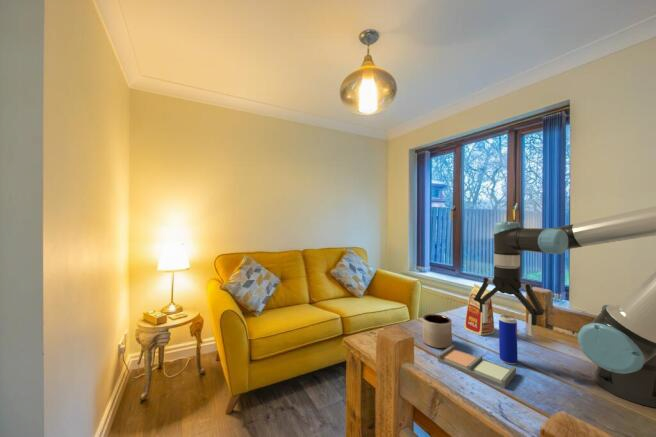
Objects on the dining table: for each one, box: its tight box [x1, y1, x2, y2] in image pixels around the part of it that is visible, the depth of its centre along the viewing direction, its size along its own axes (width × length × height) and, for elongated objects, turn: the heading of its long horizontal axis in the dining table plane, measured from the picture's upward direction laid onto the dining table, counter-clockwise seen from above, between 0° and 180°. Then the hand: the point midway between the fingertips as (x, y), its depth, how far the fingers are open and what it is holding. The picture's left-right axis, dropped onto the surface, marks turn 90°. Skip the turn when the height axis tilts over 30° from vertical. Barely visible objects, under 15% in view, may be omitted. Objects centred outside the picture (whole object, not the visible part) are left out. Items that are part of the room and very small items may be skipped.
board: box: [437, 344, 517, 389], centre depth 88 cm, size 20×11×2 cm, turn 40°
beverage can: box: [498, 314, 518, 366], centre depth 92 cm, size 5×5×15 cm
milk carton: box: [463, 283, 495, 336], centre depth 117 cm, size 9×9×20 cm
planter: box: [422, 313, 453, 350], centre depth 106 cm, size 11×11×10 cm
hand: (506, 327), depth 92 cm, fingers open, 13 cm apart
